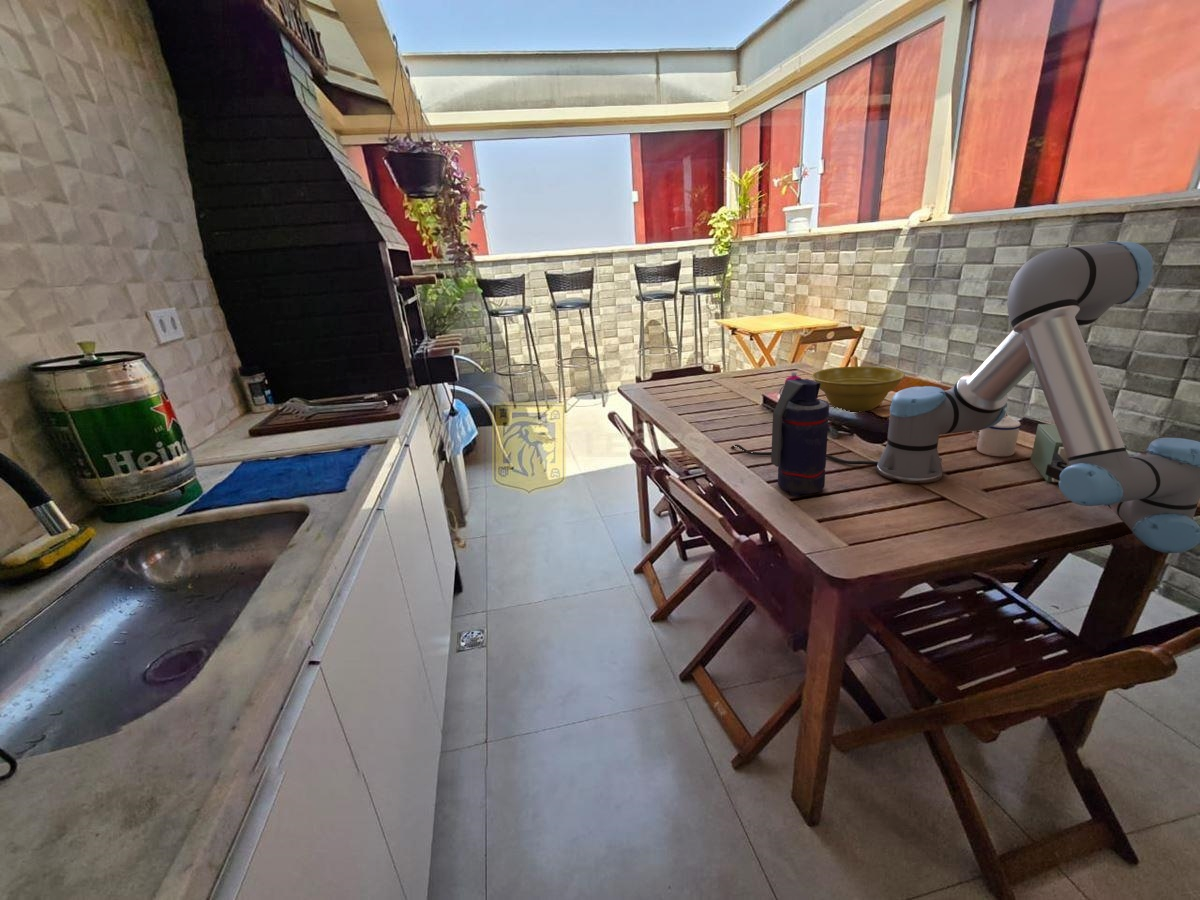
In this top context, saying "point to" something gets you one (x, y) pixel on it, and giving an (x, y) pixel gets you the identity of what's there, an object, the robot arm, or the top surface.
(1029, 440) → the top surface
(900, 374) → the planter bowl
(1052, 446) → the cabinet
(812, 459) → the grenade
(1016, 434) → the teacup with lid
